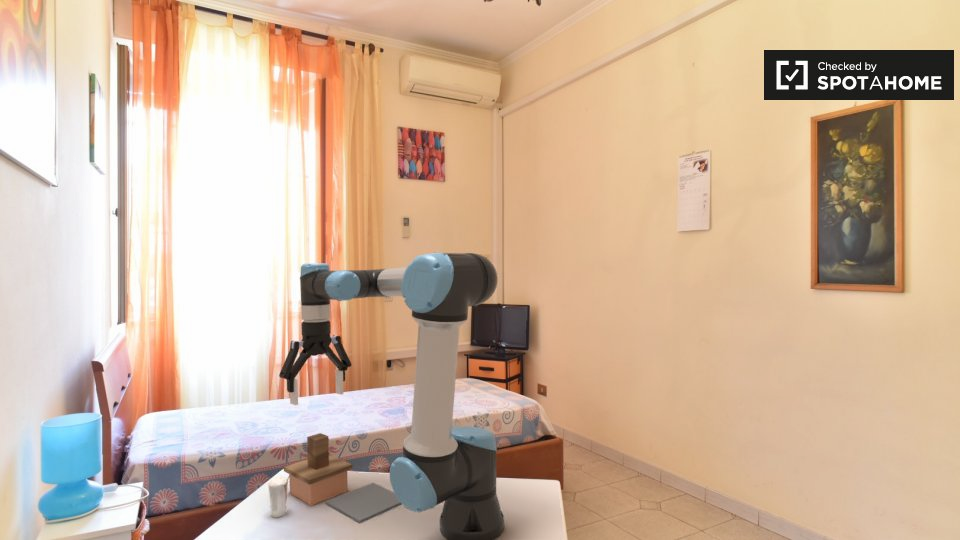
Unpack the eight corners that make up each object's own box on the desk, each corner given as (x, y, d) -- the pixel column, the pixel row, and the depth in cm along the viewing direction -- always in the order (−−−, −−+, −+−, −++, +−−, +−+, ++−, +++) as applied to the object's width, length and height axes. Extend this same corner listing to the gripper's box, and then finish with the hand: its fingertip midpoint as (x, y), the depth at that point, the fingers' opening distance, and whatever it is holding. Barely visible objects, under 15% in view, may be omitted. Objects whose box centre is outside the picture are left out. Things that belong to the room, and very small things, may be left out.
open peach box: (347, 491, 143) (347, 469, 142) (310, 505, 134) (310, 482, 134) (325, 479, 150) (325, 459, 150) (289, 492, 142) (289, 470, 142)
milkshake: (285, 519, 127) (284, 479, 127) (265, 518, 128) (264, 477, 128) (294, 510, 132) (294, 471, 131) (275, 509, 133) (274, 470, 132)
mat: (407, 501, 136) (407, 499, 136) (359, 523, 125) (359, 520, 125) (373, 484, 146) (373, 482, 146) (325, 503, 135) (325, 501, 135)
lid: (352, 468, 143) (352, 435, 142) (309, 484, 133) (308, 448, 133) (326, 457, 151) (325, 425, 151) (283, 471, 141) (283, 437, 141)
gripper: (347, 315, 153) (349, 387, 153) (264, 324, 134) (266, 406, 135) (362, 317, 148) (364, 391, 148) (278, 326, 129) (280, 411, 130)
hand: (317, 398), depth 141 cm, fingers open, 13 cm apart
